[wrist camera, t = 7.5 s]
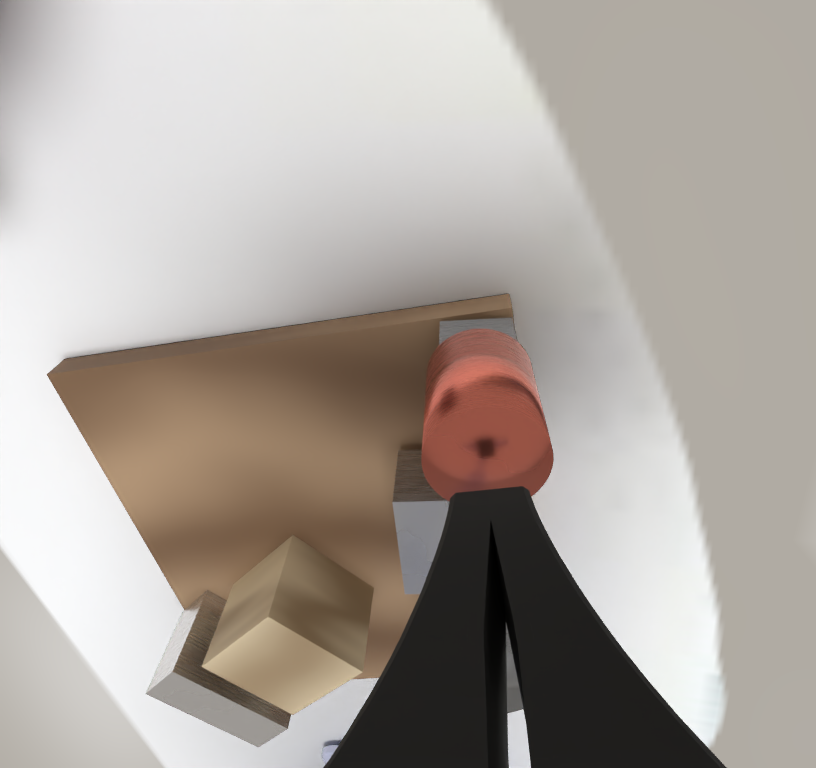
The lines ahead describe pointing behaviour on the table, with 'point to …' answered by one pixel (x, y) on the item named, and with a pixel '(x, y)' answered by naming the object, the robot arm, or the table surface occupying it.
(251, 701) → the brown grey rectangular block
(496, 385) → the lever
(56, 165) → the table surface
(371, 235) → the table surface
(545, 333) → the table surface
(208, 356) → the board
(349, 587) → the tan cube
